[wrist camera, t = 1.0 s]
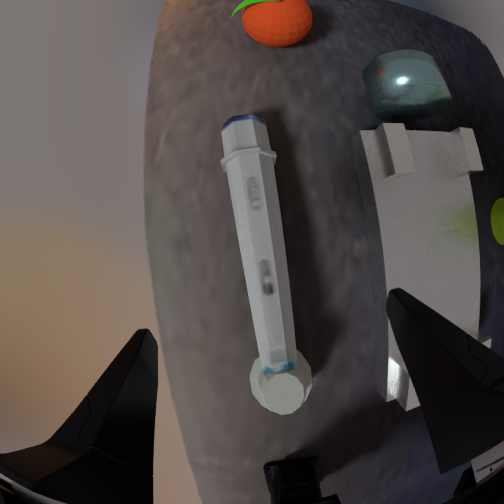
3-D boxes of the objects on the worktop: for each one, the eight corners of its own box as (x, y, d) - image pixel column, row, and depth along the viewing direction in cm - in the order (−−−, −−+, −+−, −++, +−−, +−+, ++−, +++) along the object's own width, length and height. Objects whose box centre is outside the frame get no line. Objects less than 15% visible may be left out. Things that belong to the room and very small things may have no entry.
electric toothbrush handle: (274, 108, 20) (323, 427, 18) (271, 145, 27) (309, 395, 24) (208, 118, 20) (255, 438, 18) (220, 152, 27) (256, 403, 24)
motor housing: (459, 355, 24) (500, 380, 16) (375, 388, 25) (407, 429, 17) (426, 93, 23) (464, 62, 15) (333, 87, 23) (358, 42, 15)
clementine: (242, 66, 23) (238, 22, 16) (226, 25, 23) (220, -18, 16) (316, 55, 23) (330, 12, 16) (294, 15, 23) (301, -26, 16)
